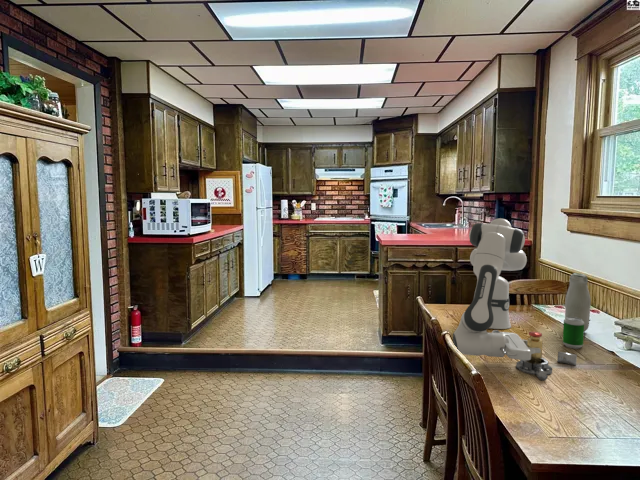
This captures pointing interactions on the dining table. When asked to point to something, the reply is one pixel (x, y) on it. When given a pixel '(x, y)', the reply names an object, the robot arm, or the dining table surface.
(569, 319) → the soda can
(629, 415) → the dining table surface
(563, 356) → the block
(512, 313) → the dining table surface
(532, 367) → the flange fitting
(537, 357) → the red capped jar
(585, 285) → the grey bottle
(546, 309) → the dining table surface
